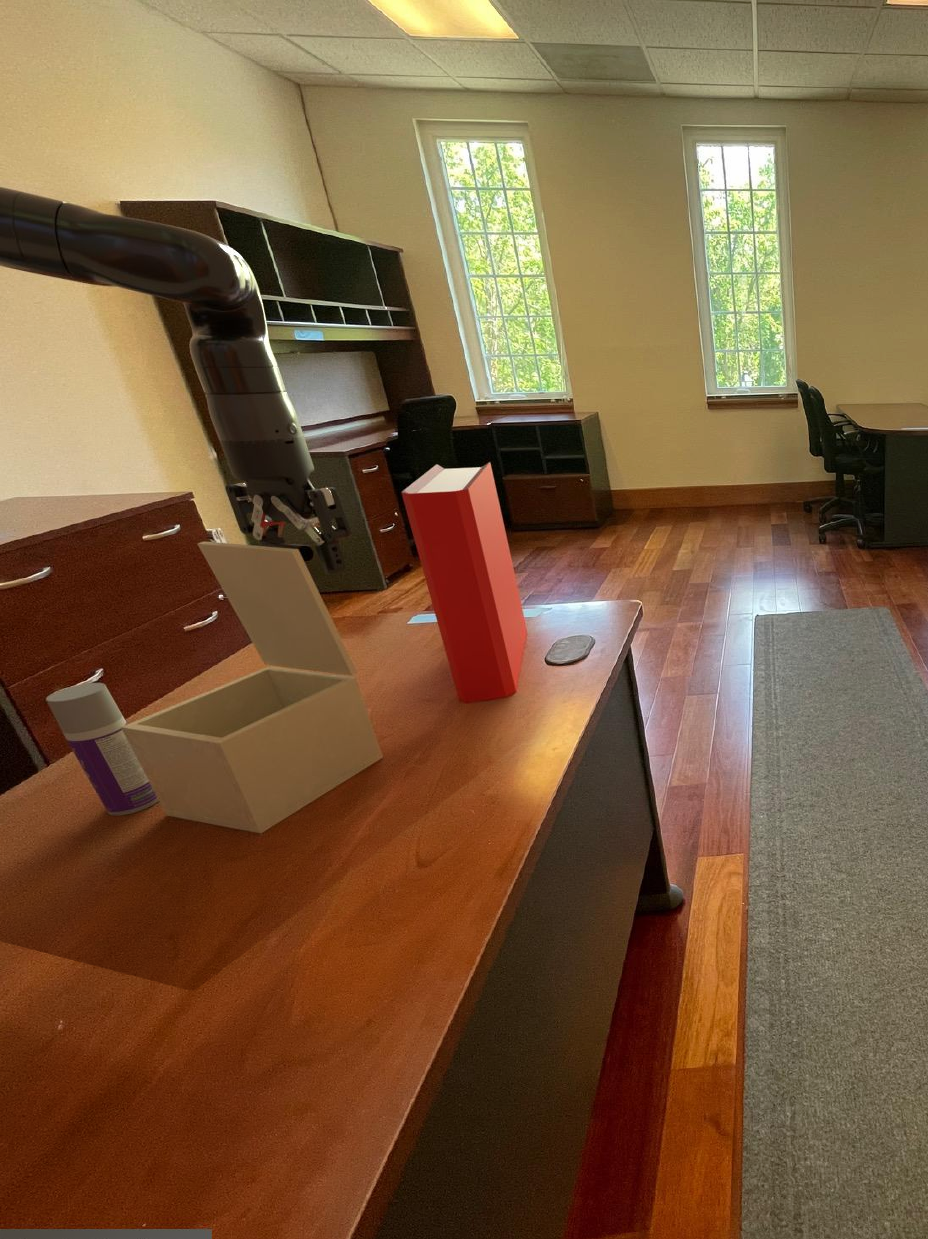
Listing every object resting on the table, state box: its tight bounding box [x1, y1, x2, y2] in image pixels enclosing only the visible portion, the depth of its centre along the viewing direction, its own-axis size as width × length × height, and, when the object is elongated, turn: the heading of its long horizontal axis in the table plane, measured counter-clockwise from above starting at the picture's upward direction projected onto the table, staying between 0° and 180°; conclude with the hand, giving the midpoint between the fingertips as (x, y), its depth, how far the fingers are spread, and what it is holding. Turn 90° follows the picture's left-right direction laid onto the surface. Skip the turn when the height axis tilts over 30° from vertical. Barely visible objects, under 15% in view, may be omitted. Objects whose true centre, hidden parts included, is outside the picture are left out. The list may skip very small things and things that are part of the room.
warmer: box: [121, 665, 384, 834], centre depth 80 cm, size 16×14×12 cm
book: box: [401, 461, 528, 704], centre depth 108 cm, size 27×8×32 cm, turn 21°
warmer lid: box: [197, 540, 358, 677], centre depth 82 cm, size 17×14×5 cm
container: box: [45, 682, 160, 817], centre depth 76 cm, size 5×5×15 cm
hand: (308, 569), depth 83 cm, fingers open, 8 cm apart
